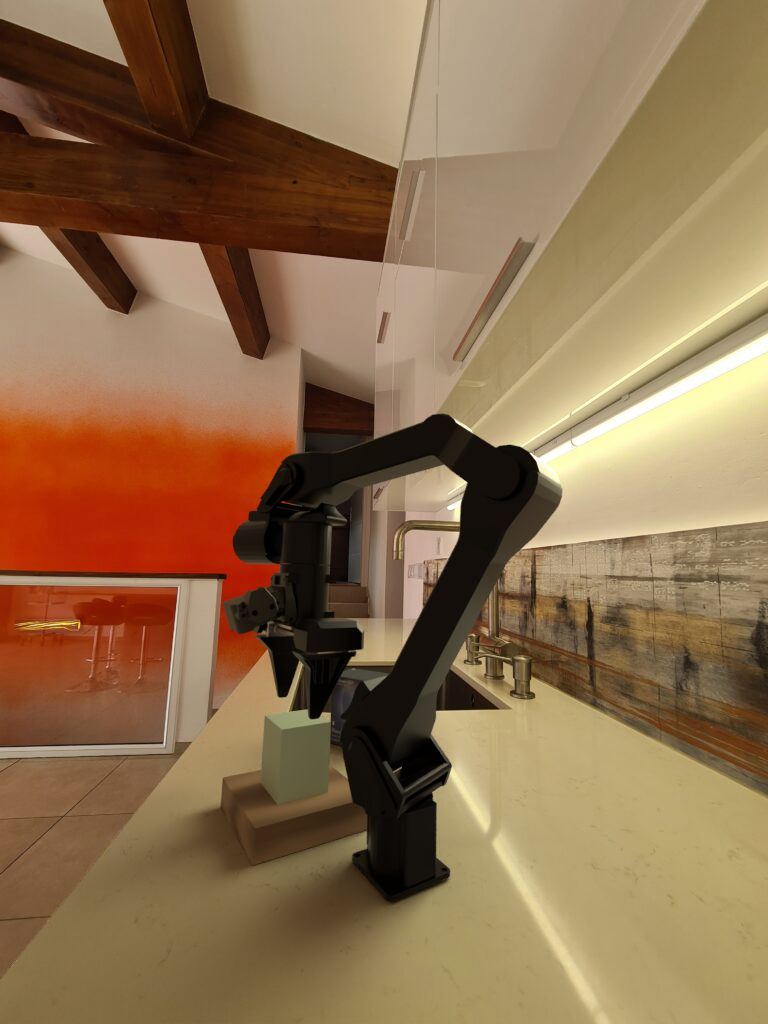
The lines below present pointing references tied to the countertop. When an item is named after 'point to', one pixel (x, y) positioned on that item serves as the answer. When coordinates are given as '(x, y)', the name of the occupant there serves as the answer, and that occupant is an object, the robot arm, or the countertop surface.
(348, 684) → the small box
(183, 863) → the countertop surface
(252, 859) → the walnut block
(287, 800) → the sage block
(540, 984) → the countertop surface
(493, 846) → the countertop surface
